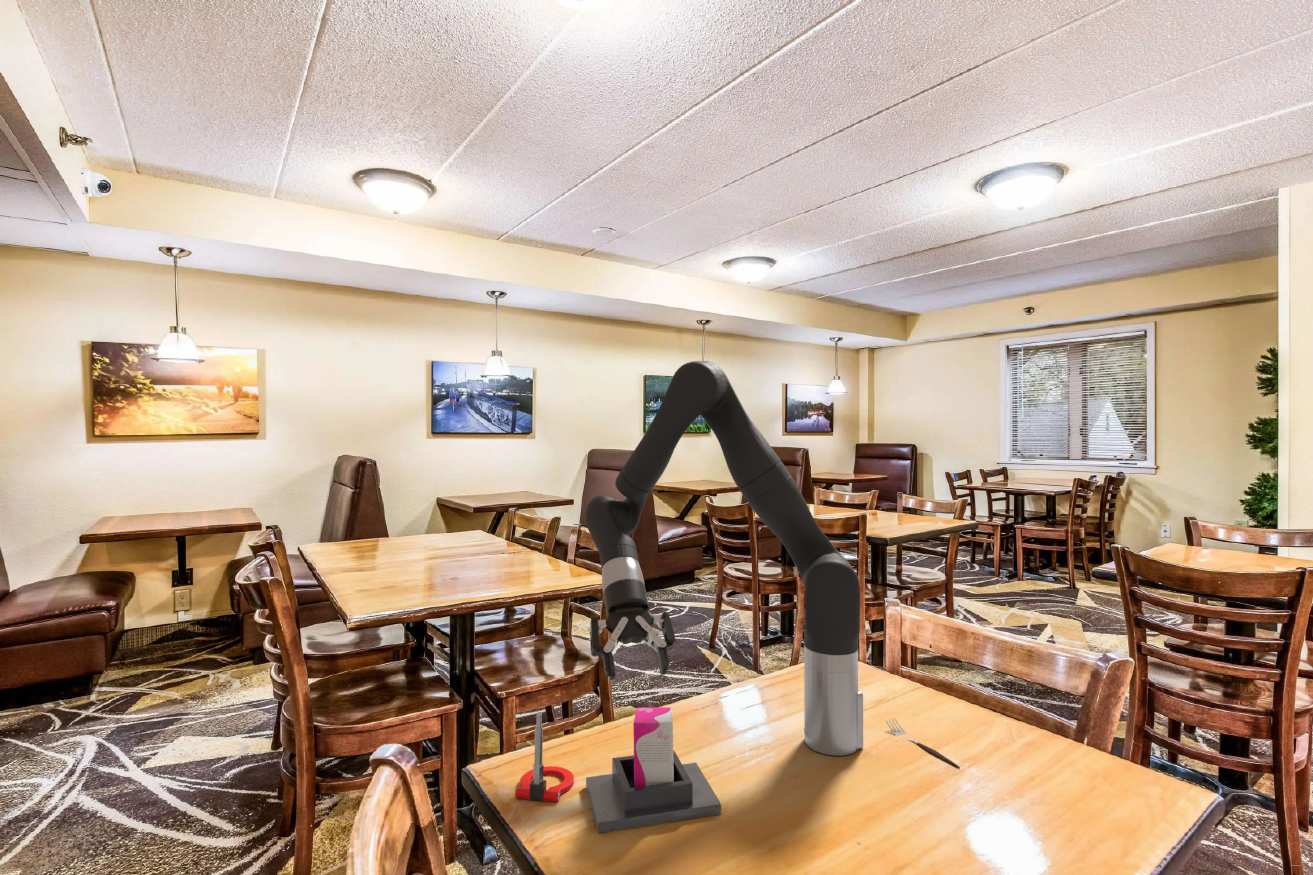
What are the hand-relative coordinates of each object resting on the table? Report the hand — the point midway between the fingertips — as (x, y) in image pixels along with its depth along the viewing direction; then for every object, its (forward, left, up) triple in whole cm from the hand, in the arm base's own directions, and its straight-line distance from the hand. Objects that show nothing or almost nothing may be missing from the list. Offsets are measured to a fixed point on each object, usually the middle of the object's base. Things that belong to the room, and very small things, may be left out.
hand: (638, 675), depth 104 cm
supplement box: (0, +9, -14) cm, 17 cm away
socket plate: (0, +8, -16) cm, 18 cm away
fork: (-50, +4, -16) cm, 53 cm away
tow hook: (+15, 0, -16) cm, 22 cm away
